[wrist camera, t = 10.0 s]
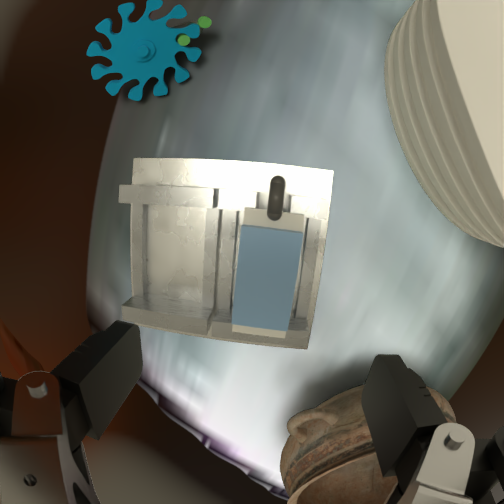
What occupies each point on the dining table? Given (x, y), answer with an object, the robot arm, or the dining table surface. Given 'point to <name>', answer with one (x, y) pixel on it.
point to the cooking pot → (337, 453)
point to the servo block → (267, 266)
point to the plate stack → (452, 107)
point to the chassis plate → (214, 243)
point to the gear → (146, 48)
